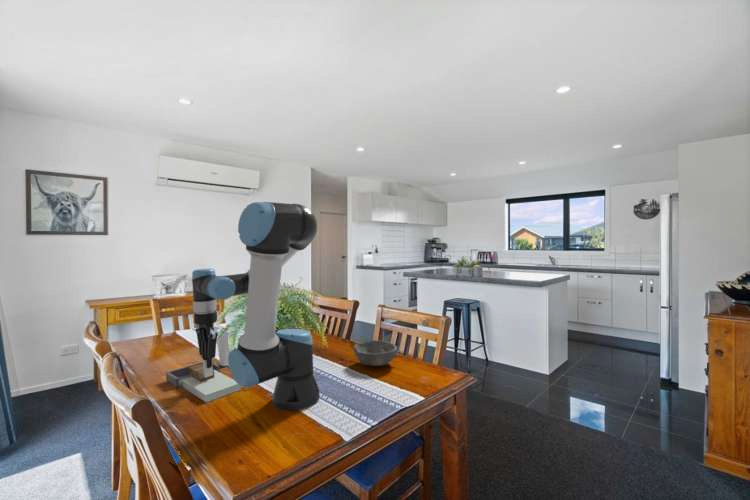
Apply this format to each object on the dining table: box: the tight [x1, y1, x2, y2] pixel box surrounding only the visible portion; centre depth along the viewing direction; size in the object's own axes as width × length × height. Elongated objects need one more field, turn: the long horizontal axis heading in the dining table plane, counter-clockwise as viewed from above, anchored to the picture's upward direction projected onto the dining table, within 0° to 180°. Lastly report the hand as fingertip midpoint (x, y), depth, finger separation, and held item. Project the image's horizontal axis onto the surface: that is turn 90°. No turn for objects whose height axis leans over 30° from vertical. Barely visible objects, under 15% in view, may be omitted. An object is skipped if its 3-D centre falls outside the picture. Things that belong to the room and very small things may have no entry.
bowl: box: [353, 340, 398, 367], centre depth 147 cm, size 18×18×8 cm
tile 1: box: [189, 364, 203, 378], centre depth 134 cm, size 5×5×3 cm
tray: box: [165, 361, 221, 389], centre depth 138 cm, size 10×16×4 cm, turn 139°
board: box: [181, 370, 241, 403], centre depth 128 cm, size 20×12×2 cm, turn 49°
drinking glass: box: [216, 328, 231, 367], centre depth 151 cm, size 7×7×15 cm
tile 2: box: [195, 368, 214, 382], centre depth 131 cm, size 5×5×3 cm
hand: (208, 375), depth 129 cm, fingers closed
